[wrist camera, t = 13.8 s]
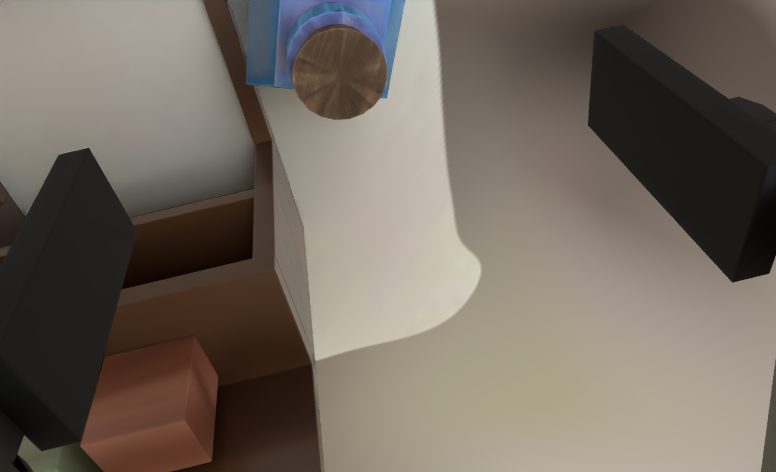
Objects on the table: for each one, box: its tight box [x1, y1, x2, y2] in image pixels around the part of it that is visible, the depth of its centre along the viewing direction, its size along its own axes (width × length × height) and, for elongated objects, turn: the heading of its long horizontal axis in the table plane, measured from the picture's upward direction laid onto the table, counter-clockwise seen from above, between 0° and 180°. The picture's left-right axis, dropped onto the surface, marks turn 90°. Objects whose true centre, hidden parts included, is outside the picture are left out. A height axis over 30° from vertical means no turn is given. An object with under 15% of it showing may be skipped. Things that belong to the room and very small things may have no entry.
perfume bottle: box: [246, 0, 405, 120], centre depth 24 cm, size 6×6×12 cm
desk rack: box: [0, 0, 325, 472], centre depth 24 cm, size 19×16×19 cm
